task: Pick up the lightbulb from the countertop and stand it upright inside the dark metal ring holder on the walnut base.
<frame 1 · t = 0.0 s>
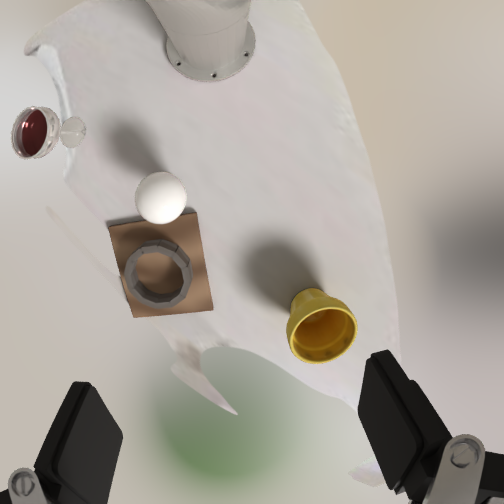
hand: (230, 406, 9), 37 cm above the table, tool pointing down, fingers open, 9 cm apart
plant pot: (309, 303, 51), on the table
lightbulb: (172, 188, 42), on the table
bulb holder: (161, 268, 46), on the table
wineglass: (73, 132, 38), on the table
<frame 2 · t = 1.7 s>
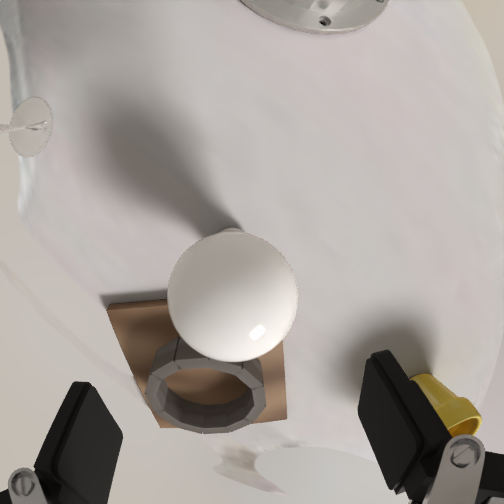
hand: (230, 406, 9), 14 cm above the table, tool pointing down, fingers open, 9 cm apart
plant pot: (410, 390, 31), on the table
lightbulb: (231, 241, 22), on the table
bulb holder: (207, 370, 26), on the table
wineglass: (30, 126, 17), on the table
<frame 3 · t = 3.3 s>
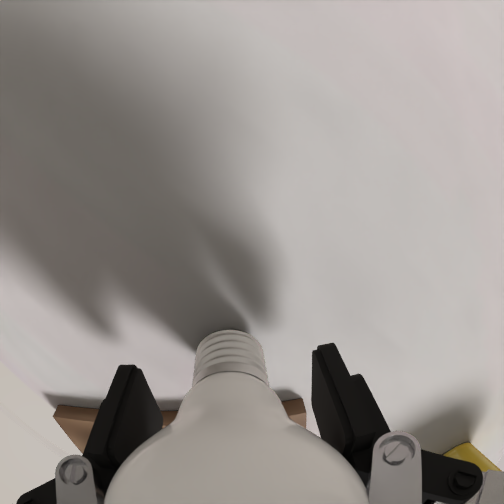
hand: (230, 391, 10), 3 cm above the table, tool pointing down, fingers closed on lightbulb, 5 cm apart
plant pot: (444, 459, 20), on the table
lightbulb: (229, 343, 12), on the table, touching gripper
bulb holder: (200, 477, 16), on the table
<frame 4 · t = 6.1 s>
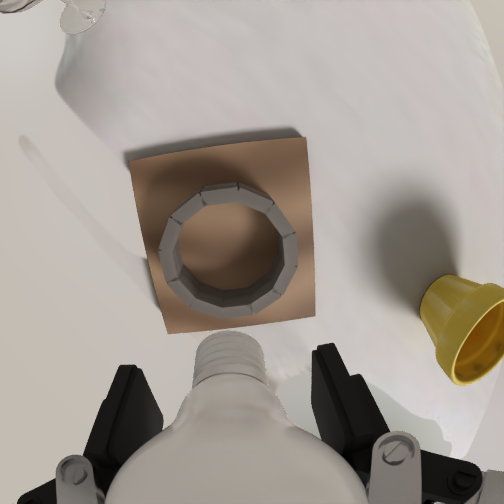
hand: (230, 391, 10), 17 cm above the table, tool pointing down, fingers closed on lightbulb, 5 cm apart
plant pot: (440, 298, 30), on the table
lightbulb: (229, 344, 12), point 14 cm above the table, touching gripper
bulb holder: (228, 241, 26), on the table
wineglass: (82, 12, 17), on the table
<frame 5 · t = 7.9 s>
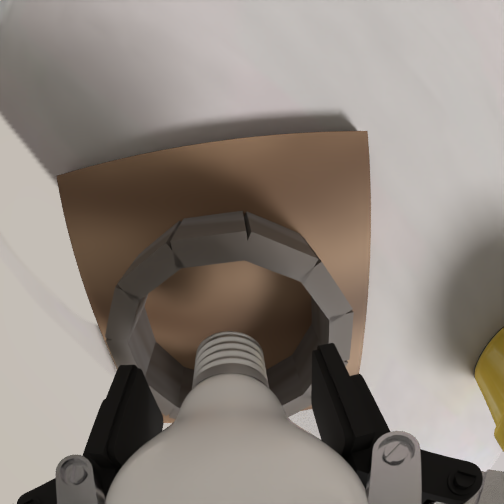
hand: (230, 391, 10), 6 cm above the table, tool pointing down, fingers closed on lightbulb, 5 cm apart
plant pot: (497, 349, 20), on the table
lightbulb: (229, 345, 12), point 3 cm above the table, touching gripper
bulb holder: (229, 306, 15), on the table
when the fingers open (5 cm above the table, at t = 9.0 s): lightbulb drops 1 cm, resting on bulb holder.
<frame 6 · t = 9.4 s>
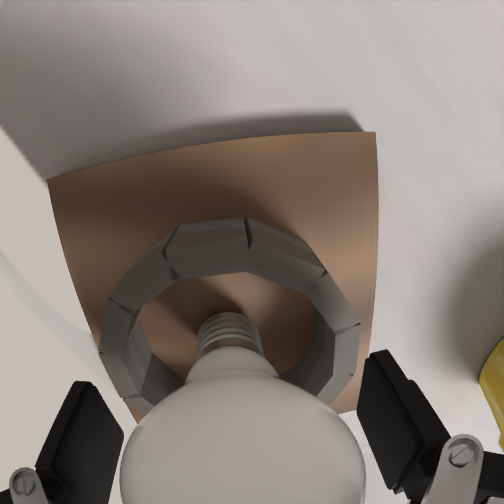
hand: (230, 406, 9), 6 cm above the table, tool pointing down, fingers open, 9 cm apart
plant pot: (501, 355, 19), on the table
lightbulb: (227, 327, 14), point 1 cm above the table, touching bulb holder
bulb holder: (229, 316, 14), on the table
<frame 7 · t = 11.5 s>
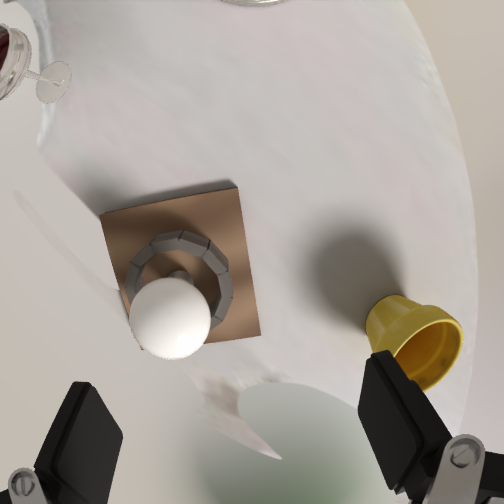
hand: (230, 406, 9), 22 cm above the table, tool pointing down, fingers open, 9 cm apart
plant pot: (387, 316, 35), on the table
lightbulb: (181, 279, 30), point 1 cm above the table, touching bulb holder
bulb holder: (182, 275, 31), on the table
wineglass: (53, 82, 23), on the table
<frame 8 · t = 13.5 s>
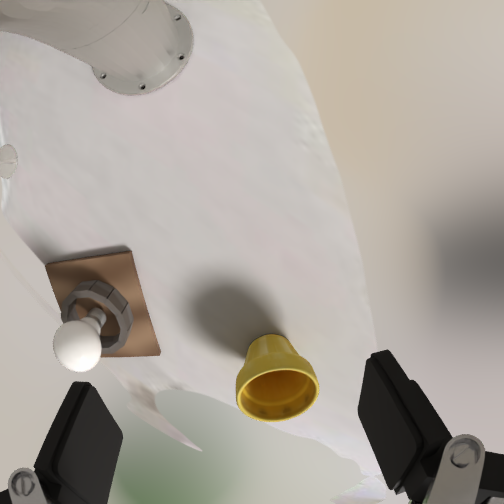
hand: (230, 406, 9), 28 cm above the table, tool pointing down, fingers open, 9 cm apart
plant pot: (269, 350, 43), on the table
lightbulb: (100, 312, 38), point 1 cm above the table, touching bulb holder
bulb holder: (102, 309, 39), on the table
wineglass: (7, 161, 30), on the table
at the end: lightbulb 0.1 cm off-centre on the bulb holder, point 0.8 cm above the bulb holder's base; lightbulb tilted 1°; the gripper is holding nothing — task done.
